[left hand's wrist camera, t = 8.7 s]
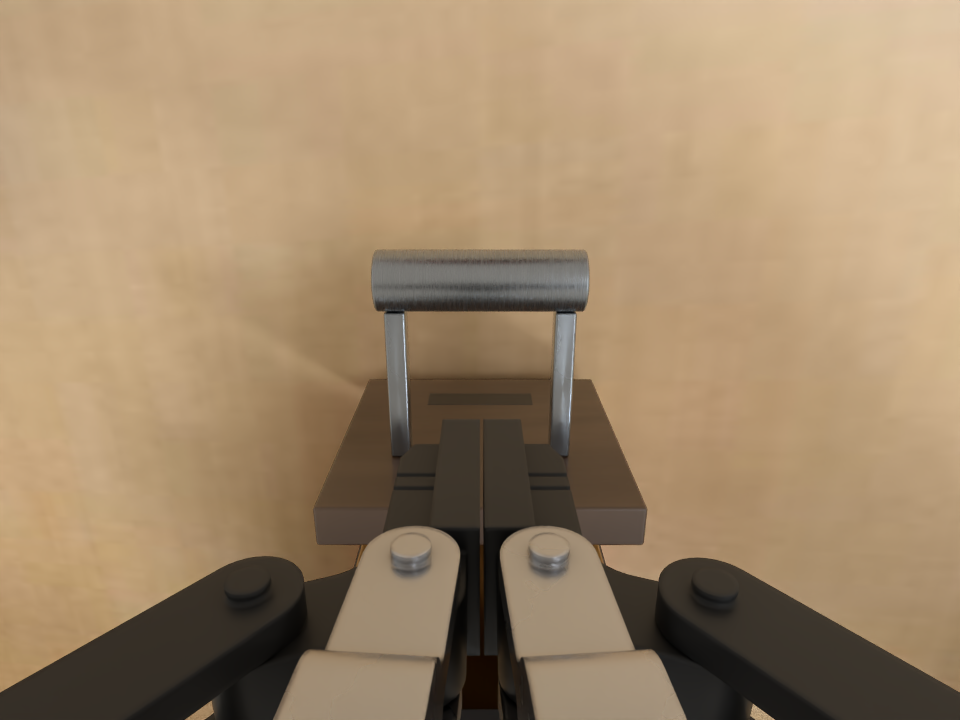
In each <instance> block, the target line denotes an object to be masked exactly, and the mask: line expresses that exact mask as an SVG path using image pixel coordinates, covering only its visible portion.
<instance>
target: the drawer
mask: <svg viewBox="0 0 960 720" xmlns="http://www.w3.org/2000/svg"><path fill="white" fill-rule="evenodd" d="M371 288H372V298H373V303H374V307H375V309H376V311H385V313H384V327H385V345H386V363H387V379H371V380H369V382H368V384H367V387H366V389H365V391H364V393H363V396H362V398H361V400H360V403H359V405H358V407H357V410H356V412H355V414H354V416H353V419H352V421H351V423H350V426H349V428H348V430H347V433H346V435H345V437H344V439H343V442H342V444H341V446H340V449H339V451H338V453H337V456H336V458H335V460H334V462H333V465H332V467H331V469H330V472H329V474H328V476H327V478H326V481H325V483H324V485H323V488H322V490H321V492H320V495H319V497H318V499H317V501H316V504H315V506H314V509H313V511H314V521H315V530H316V539H317V544H319V545H362V546H361V550H360V553H359V557H358V560H357V564H356V567H357V566H358V564H359V561H360V559H361V556H362V554H363V551H364V550H365V548H366V546H367V545H368V544H369V543H370V542H371V541H372V540H373V539H374V538H376V537H377V536H379V535H380V534H382V533H383V529H384V525H385V521H386V517H387V512H388V508H389V504H390V500H391V496H392V491H393V490H394V483H395V479H396V477H397V470H398V466H399V462H400V458H401V457H402V456H403V455H404V454H405V453H406V452H407V451H408V450H409V449H410V448H411V447H412V446H413V445H414V444H439V443H440V435H441V427H442V420H443V419H480V656H467V666H466V680H465V683H464V686H463V688H462V708H461V709H499V708H498V655H484V563H483V419H521V425H522V432H523V439H524V444H549V445H550V446H551V447H552V448H553V449H554V450H555V451H556V452H558V453H559V454H560V455H561V456H562V457H563V460H564V464H565V468H566V472H567V477H568V480H569V484H570V490H571V492H572V496H573V500H574V504H575V508H576V512H577V516H578V520H579V524H580V528H581V532H582V536H583V537H584V538H586V539H587V540H588V541H589V542H590V543H591V544H592V545H593V546H594V548H595V550H596V551H597V554H598V556H599V559H600V561H601V562H602V563H603V564H604V562H603V558H602V555H601V551H600V548H599V545H642V544H643V543H644V535H645V526H646V517H647V507H646V505H645V503H644V500H643V498H642V496H641V493H640V491H639V489H638V487H637V484H636V482H635V480H634V477H633V475H632V473H631V470H630V468H629V466H628V464H627V461H626V459H625V457H624V454H623V452H622V450H621V447H620V445H619V443H618V440H617V438H616V436H615V434H614V431H613V429H612V427H611V424H610V422H609V420H608V417H607V415H606V413H605V411H604V408H603V406H602V404H601V401H600V399H599V397H598V394H597V392H596V390H595V387H594V385H593V383H592V381H591V380H590V379H573V374H574V356H575V338H576V320H577V314H576V312H575V311H584V310H585V308H586V306H587V302H588V295H589V261H588V255H587V253H586V251H585V250H376V251H375V252H374V254H373V258H372V267H371ZM407 311H554V313H553V336H552V360H551V379H410V370H409V346H408V322H407Z"/></svg>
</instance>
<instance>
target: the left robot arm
mask: <svg viewBox="0 0 960 720" xmlns="http://www.w3.org/2000/svg"><path fill="white" fill-rule="evenodd" d="M483 563H484V655H498V708H499V717H500V720H755V719H753V718H752V717H751V716H750V714H751V709H752V705H753V704H754V705H756V706H757V707H758V708H760V709H761V710H763V711H764V712H765V713H767V714H768V715H770V716H771V717H772V718H774V719H775V720H960V692H958V691H956V690H954V689H952V688H951V687H949V686H947V685H945V684H944V683H942V682H940V681H938V680H937V679H935V678H933V677H931V676H929V675H928V674H926V673H924V672H922V671H921V670H919V669H917V668H915V667H913V666H912V665H910V664H908V663H906V662H905V661H903V660H901V659H899V658H898V657H896V656H894V655H892V654H890V653H889V652H887V651H885V650H883V649H882V648H880V647H878V646H876V645H875V644H873V643H871V642H869V641H867V640H866V639H864V638H862V637H860V636H859V635H857V634H855V633H853V632H851V631H850V630H848V629H846V628H844V627H843V626H841V625H839V624H837V623H836V622H834V621H832V620H830V619H828V618H827V617H825V616H823V615H821V614H820V613H818V612H816V611H814V610H812V609H811V608H809V607H807V606H805V605H804V604H802V603H800V602H798V601H797V600H795V599H793V598H791V597H789V596H788V595H786V594H784V593H782V592H781V591H779V590H777V589H775V588H774V587H772V586H770V585H768V584H766V583H765V582H763V581H761V580H759V579H758V578H756V577H754V576H752V575H750V574H749V573H747V572H745V571H743V570H741V569H739V568H737V567H735V566H733V565H731V564H728V563H725V562H722V561H718V560H713V559H708V558H687V559H681V560H678V561H675V562H673V563H671V564H669V565H668V566H667V567H666V568H664V570H663V571H662V572H661V574H660V577H659V582H658V581H654V580H649V579H645V578H640V577H636V576H632V575H628V574H625V573H622V572H619V571H616V570H614V569H612V568H610V567H608V566H606V565H605V564H603V563H602V562H601V561H600V559H599V556H598V554H597V551H596V550H595V548H594V546H593V545H592V544H591V543H590V542H589V541H588V540H587V539H586V538H584V537H583V536H582V532H581V528H580V524H579V520H578V516H577V512H576V508H575V504H574V500H573V496H572V492H571V490H570V484H569V480H568V477H567V472H566V468H565V464H564V460H563V457H562V456H561V455H560V454H559V453H558V452H556V451H555V450H554V449H553V448H552V447H551V446H550V445H549V444H524V439H523V432H522V425H521V419H483ZM467 656H480V419H443V420H442V427H441V435H440V443H439V444H414V445H413V446H412V447H411V448H410V449H409V450H408V451H407V452H406V453H405V454H404V455H403V456H402V457H401V458H400V462H399V466H398V470H397V477H396V479H395V483H394V490H393V491H392V496H391V500H390V504H389V508H388V512H387V517H386V521H385V525H384V529H383V533H382V534H380V535H379V536H377V537H376V538H374V539H373V540H372V541H371V542H370V543H369V544H368V545H367V546H366V548H365V550H364V551H363V554H362V556H361V559H360V561H359V564H358V566H357V567H355V568H353V569H351V570H349V571H346V572H343V573H341V574H337V575H334V576H330V577H325V578H321V579H316V580H312V581H308V582H304V578H303V575H302V572H301V570H300V569H299V568H298V567H297V566H296V565H295V564H294V563H292V562H290V561H288V560H285V559H282V558H278V557H269V556H262V557H252V558H247V559H243V560H239V561H236V562H233V563H231V564H228V565H226V566H224V567H222V568H220V569H218V570H217V571H215V572H213V573H211V574H210V575H208V576H206V577H204V578H202V579H201V580H199V581H197V582H195V583H194V584H192V585H190V586H188V587H187V588H185V589H183V590H181V591H179V592H178V593H176V594H174V595H172V596H171V597H169V598H167V599H165V600H163V601H162V602H160V603H158V604H156V605H155V606H153V607H151V608H149V609H148V610H146V611H144V612H142V613H140V614H139V615H137V616H135V617H133V618H132V619H130V620H128V621H126V622H124V623H123V624H121V625H119V626H117V627H116V628H114V629H112V630H110V631H109V632H107V633H105V634H103V635H101V636H100V637H98V638H96V639H94V640H93V641H91V642H89V643H87V644H86V645H84V646H82V647H80V648H78V649H77V650H75V651H73V652H71V653H70V654H68V655H66V656H64V657H62V658H61V659H59V660H57V661H55V662H54V663H52V664H50V665H48V666H47V667H45V668H43V669H41V670H39V671H38V672H36V673H34V674H32V675H31V676H29V677H27V678H25V679H23V680H22V681H20V682H18V683H16V684H15V685H13V686H11V687H9V688H8V689H6V690H4V691H2V692H0V720H185V719H186V718H188V717H189V716H190V715H192V714H193V713H195V712H196V711H197V710H199V709H200V708H202V707H203V706H204V705H206V704H207V703H208V702H210V701H211V700H212V705H213V710H214V713H213V714H212V715H211V716H209V717H208V718H207V719H205V720H460V717H461V708H462V688H463V686H464V683H465V680H466V666H467Z"/></svg>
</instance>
